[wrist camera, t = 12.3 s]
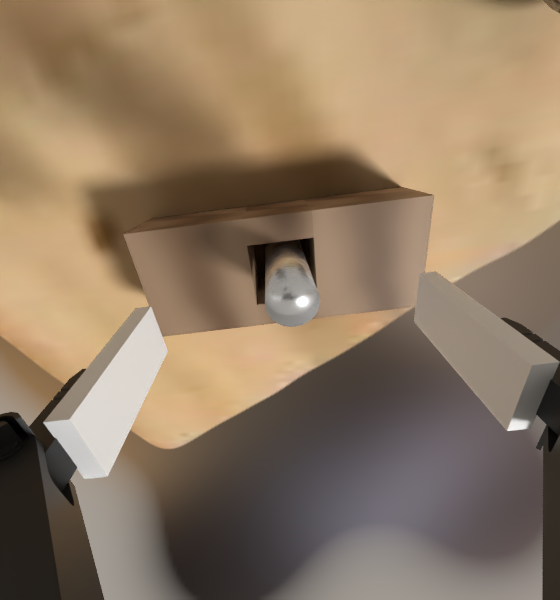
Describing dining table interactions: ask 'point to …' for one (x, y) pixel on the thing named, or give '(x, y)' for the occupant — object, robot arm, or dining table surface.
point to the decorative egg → (553, 4)
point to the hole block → (275, 228)
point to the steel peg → (289, 285)
